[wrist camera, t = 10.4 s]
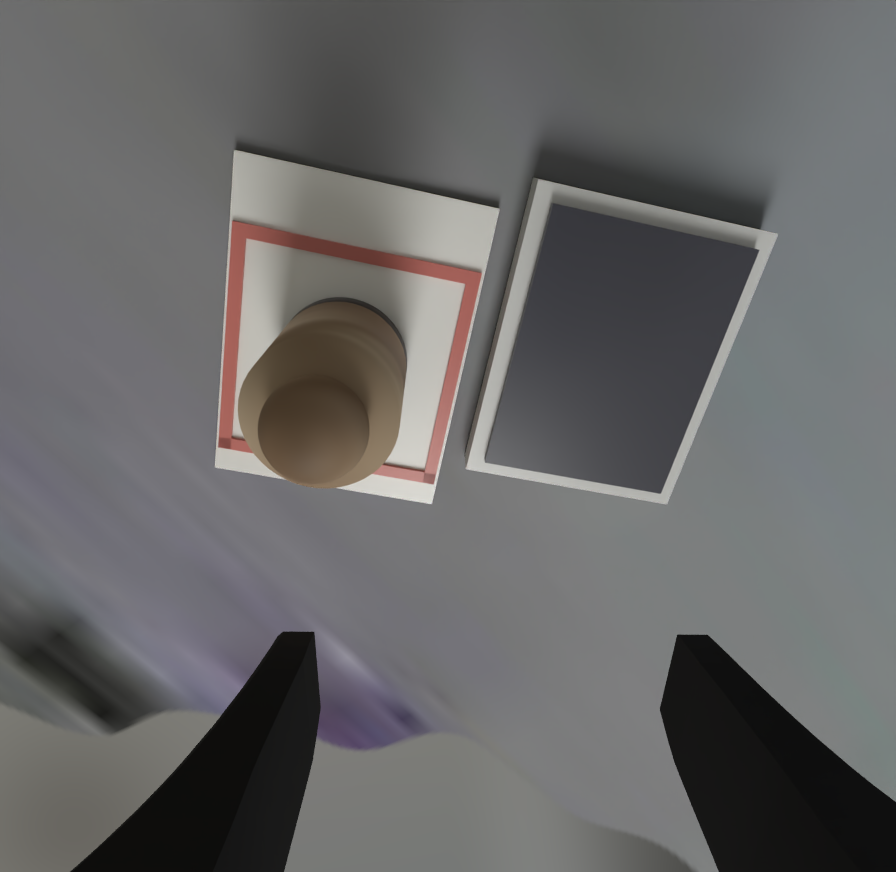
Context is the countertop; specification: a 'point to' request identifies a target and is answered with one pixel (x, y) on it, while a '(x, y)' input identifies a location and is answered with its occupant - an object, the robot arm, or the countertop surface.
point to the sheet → (353, 294)
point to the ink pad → (610, 341)
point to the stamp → (326, 395)
